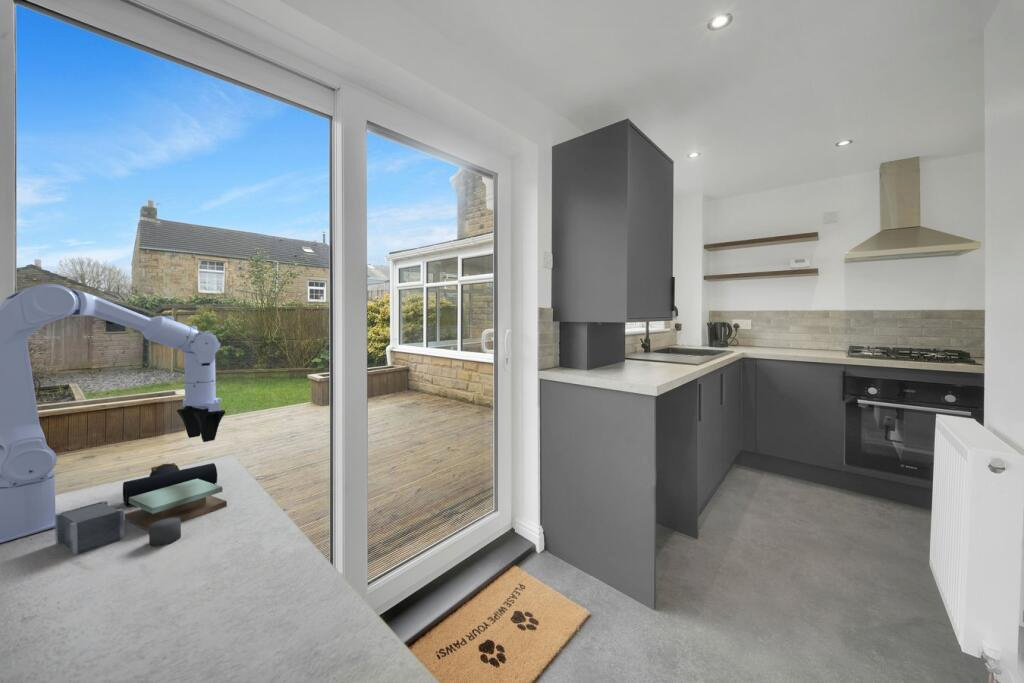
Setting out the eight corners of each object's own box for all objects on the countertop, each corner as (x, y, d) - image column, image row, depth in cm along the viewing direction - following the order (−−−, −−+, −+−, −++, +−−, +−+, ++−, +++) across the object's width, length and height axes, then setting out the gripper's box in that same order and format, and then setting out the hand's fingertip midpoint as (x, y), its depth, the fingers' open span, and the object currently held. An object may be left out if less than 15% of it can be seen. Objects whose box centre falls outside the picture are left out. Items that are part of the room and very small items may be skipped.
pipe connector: (117, 471, 86) (202, 454, 97) (118, 495, 86) (203, 475, 98) (126, 484, 79) (217, 464, 90) (127, 510, 79) (217, 487, 90)
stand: (150, 532, 69) (150, 509, 69) (124, 519, 74) (124, 498, 74) (226, 506, 79) (226, 486, 79) (199, 495, 85) (198, 477, 84)
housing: (124, 538, 67) (123, 509, 67) (73, 556, 62) (72, 524, 61) (105, 528, 71) (105, 500, 71) (55, 544, 65) (55, 514, 65)
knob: (155, 549, 64) (155, 531, 63) (144, 543, 65) (144, 525, 65) (185, 538, 67) (185, 520, 67) (174, 532, 69) (174, 515, 69)
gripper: (234, 381, 93) (235, 438, 93) (206, 378, 100) (207, 431, 100) (198, 385, 87) (199, 446, 87) (171, 381, 94) (172, 437, 94)
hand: (201, 438), depth 93 cm, fingers open, 7 cm apart
